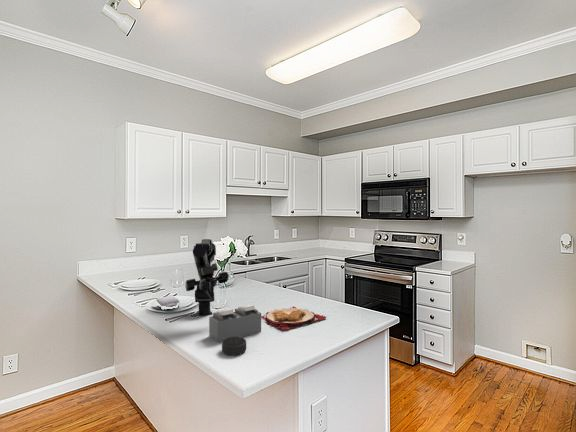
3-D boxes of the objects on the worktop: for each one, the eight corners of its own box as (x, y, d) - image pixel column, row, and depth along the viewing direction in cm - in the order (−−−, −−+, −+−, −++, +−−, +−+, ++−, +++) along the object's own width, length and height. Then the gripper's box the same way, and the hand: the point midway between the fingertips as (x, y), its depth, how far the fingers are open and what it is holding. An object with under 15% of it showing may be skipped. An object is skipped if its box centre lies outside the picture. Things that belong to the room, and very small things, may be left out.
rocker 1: (216, 315, 144) (216, 311, 144) (226, 313, 146) (226, 309, 146) (223, 315, 138) (222, 311, 139) (233, 313, 141) (232, 309, 141)
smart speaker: (237, 344, 135) (237, 334, 135) (251, 352, 128) (251, 341, 128) (217, 350, 129) (217, 340, 129) (230, 358, 122) (230, 347, 122)
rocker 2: (238, 311, 149) (237, 307, 150) (247, 309, 152) (246, 305, 152) (245, 311, 144) (245, 307, 145) (254, 309, 147) (254, 305, 147)
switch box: (209, 336, 143) (209, 313, 143) (251, 326, 155) (251, 305, 155) (217, 342, 137) (217, 318, 136) (261, 331, 148) (261, 309, 148)
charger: (165, 314, 172) (156, 307, 184) (183, 310, 178) (173, 304, 190) (165, 304, 172) (156, 298, 184) (183, 301, 177) (173, 295, 189)
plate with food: (327, 321, 165) (327, 313, 165) (283, 332, 148) (283, 323, 148) (293, 309, 184) (293, 302, 184) (251, 318, 167) (251, 310, 167)
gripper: (183, 262, 149) (192, 295, 142) (225, 254, 158) (235, 284, 150) (182, 275, 158) (190, 306, 150) (222, 266, 166) (231, 296, 158)
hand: (212, 298), depth 152 cm, fingers closed
